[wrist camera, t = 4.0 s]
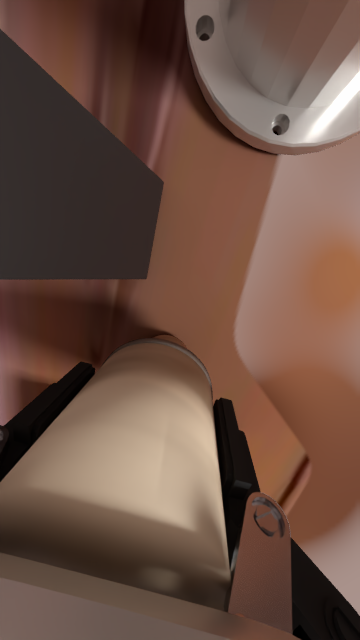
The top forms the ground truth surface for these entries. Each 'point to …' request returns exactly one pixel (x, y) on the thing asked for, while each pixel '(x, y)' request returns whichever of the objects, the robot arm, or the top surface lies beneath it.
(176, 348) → the beech peg
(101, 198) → the dark grey a-shaped piece
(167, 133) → the top surface
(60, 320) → the top surface
